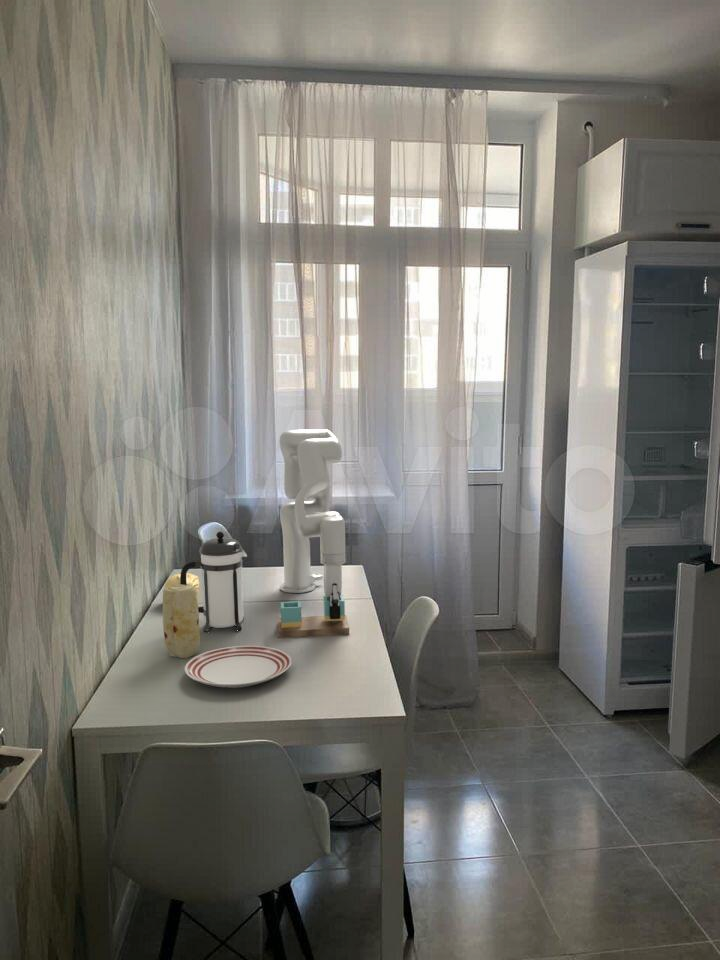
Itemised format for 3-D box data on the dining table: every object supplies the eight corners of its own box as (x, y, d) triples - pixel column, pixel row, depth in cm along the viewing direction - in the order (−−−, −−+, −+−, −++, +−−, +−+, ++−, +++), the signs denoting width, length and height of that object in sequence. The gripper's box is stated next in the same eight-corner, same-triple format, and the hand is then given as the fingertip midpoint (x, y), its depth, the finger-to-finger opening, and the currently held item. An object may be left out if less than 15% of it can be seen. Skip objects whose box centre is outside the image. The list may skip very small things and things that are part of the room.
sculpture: (196, 608, 249) (194, 577, 247) (160, 609, 249) (158, 577, 247) (204, 598, 260) (202, 568, 258) (169, 598, 260) (168, 568, 259)
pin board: (345, 620, 234) (345, 599, 233) (349, 634, 222) (348, 611, 221) (278, 624, 232) (277, 602, 231) (278, 637, 220) (277, 614, 219)
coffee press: (228, 614, 242) (224, 523, 237) (258, 626, 230) (254, 531, 226) (181, 628, 230) (176, 532, 225) (210, 641, 218) (205, 540, 214)
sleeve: (343, 613, 231) (342, 595, 230) (344, 620, 225) (344, 600, 224) (323, 614, 230) (323, 595, 229) (324, 621, 224) (324, 601, 223)
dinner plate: (199, 654, 209) (198, 643, 208) (297, 654, 208) (296, 642, 207) (172, 697, 181) (171, 684, 181) (285, 697, 181) (284, 683, 180)
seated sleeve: (301, 620, 229) (300, 601, 228) (301, 626, 223) (301, 607, 223) (281, 621, 229) (280, 602, 228) (281, 627, 223) (280, 608, 222)
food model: (201, 649, 212) (197, 581, 209) (200, 658, 205) (196, 587, 202) (165, 652, 210) (161, 583, 207) (163, 661, 204) (159, 590, 201)
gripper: (319, 551, 233) (320, 606, 235) (322, 565, 216) (323, 625, 218) (343, 550, 233) (344, 605, 236) (348, 564, 216) (349, 623, 219)
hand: (334, 614), depth 227 cm, fingers open, 6 cm apart
